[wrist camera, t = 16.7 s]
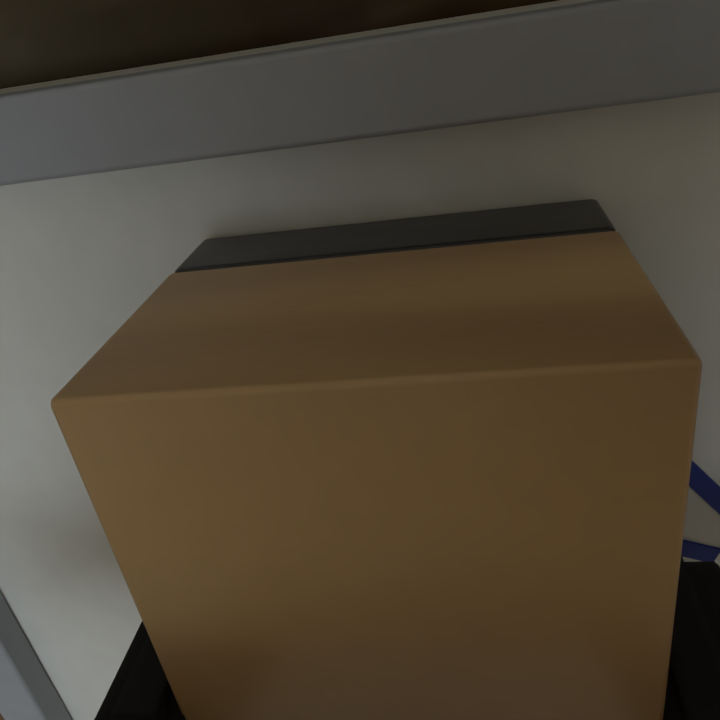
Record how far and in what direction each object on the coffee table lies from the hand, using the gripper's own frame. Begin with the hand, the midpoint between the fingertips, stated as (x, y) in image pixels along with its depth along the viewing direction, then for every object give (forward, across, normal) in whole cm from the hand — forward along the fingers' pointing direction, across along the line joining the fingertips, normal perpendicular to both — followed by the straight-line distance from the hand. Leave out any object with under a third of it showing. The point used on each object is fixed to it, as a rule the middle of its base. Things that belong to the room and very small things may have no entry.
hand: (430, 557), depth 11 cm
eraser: (0, 0, 0) cm, 0 cm away
